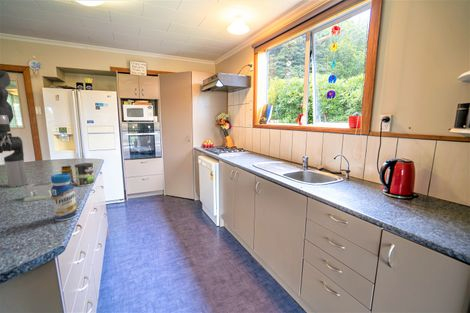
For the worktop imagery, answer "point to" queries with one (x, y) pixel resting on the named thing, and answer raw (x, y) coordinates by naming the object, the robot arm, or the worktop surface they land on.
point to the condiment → (67, 171)
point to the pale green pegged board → (38, 197)
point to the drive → (39, 189)
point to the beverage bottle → (63, 197)
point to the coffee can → (84, 174)
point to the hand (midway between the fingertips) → (4, 152)
